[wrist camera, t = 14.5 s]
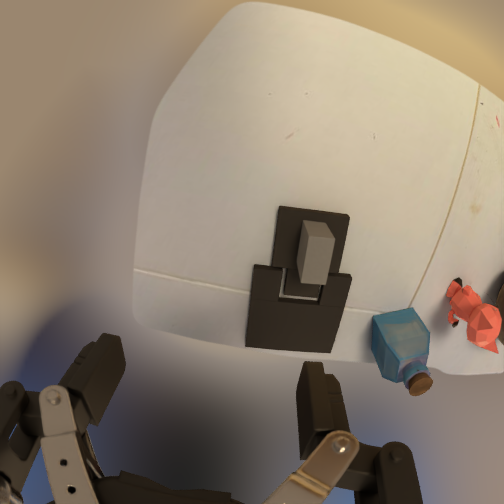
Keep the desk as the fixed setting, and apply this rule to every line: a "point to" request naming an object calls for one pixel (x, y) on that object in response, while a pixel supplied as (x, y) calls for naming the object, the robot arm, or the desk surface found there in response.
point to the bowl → (501, 312)
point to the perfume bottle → (402, 349)
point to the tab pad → (292, 241)
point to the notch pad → (294, 313)
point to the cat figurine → (474, 315)
